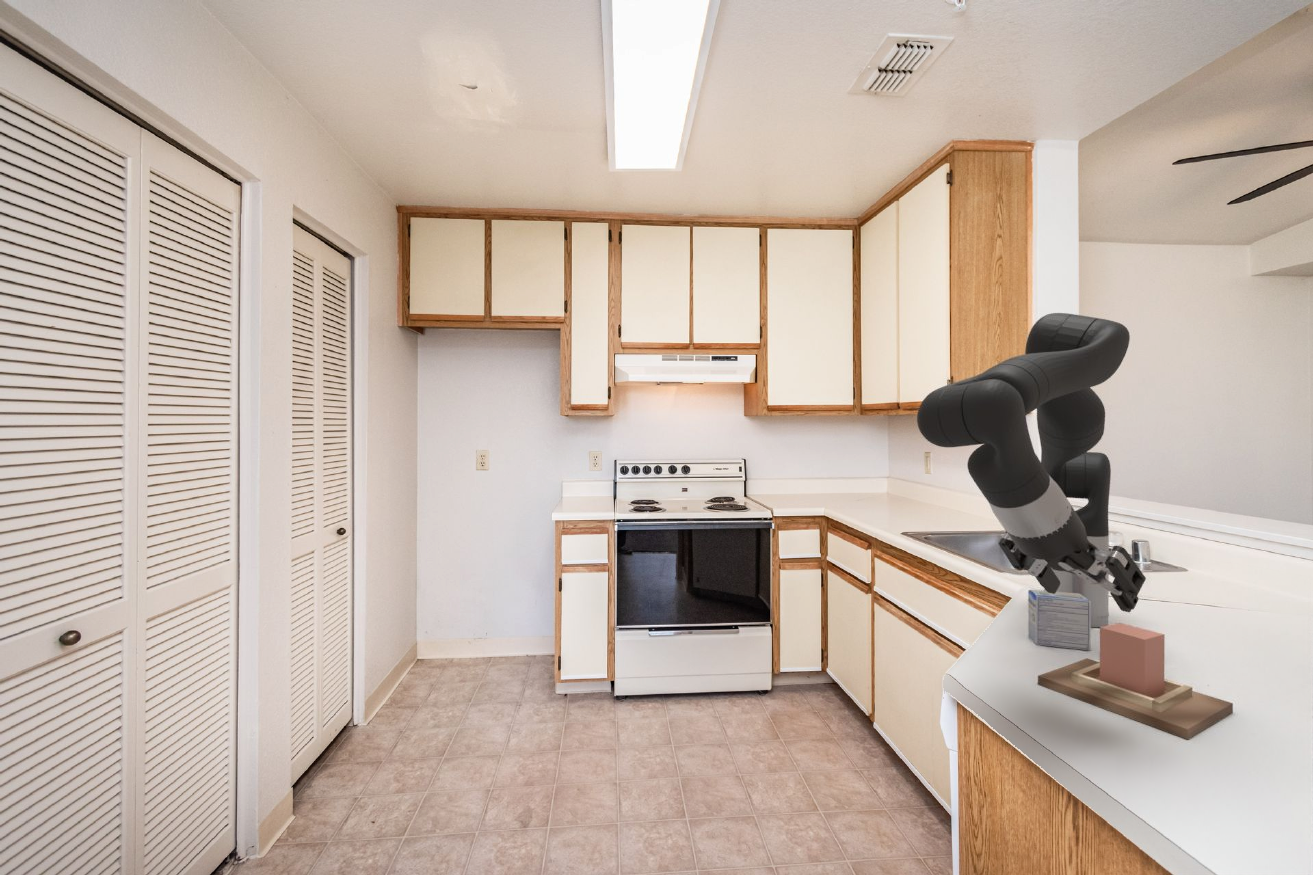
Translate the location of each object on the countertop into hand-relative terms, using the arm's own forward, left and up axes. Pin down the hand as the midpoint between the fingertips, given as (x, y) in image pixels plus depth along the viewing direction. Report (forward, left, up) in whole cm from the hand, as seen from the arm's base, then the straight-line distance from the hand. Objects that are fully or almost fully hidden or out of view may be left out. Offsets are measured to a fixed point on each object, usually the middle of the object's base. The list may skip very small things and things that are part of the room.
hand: (1089, 596), depth 69 cm
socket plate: (+1, +9, -15) cm, 17 cm away
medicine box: (-14, +23, -15) cm, 31 cm away
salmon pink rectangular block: (+1, +9, -14) cm, 16 cm away
